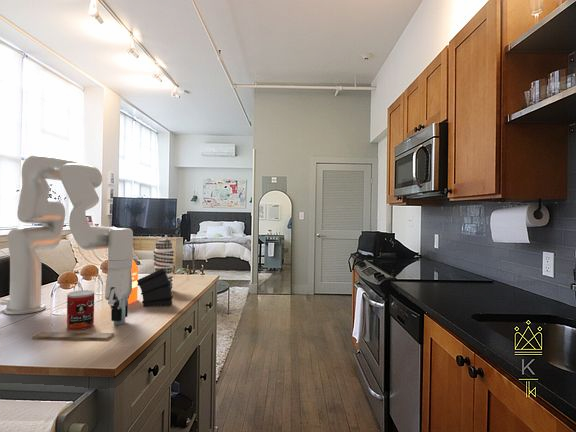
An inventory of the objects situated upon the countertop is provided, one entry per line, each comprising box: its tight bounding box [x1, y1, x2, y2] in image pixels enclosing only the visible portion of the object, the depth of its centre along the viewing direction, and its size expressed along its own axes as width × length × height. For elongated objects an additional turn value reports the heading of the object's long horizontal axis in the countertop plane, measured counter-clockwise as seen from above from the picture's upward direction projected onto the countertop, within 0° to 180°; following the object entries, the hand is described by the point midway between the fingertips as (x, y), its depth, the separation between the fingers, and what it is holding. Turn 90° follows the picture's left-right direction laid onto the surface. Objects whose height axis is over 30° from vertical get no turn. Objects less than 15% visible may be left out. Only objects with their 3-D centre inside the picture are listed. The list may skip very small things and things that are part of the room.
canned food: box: [66, 289, 95, 331], centre depth 117 cm, size 8×8×11 cm
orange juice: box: [128, 259, 139, 305], centre depth 150 cm, size 8×9×20 cm
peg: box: [113, 297, 126, 326], centre depth 121 cm, size 4×4×10 cm
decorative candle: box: [153, 238, 175, 293], centre depth 172 cm, size 9×9×25 cm
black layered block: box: [137, 268, 174, 308], centre depth 145 cm, size 4×13×15 cm, turn 100°
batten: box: [32, 331, 115, 341], centre depth 107 cm, size 22×4×1 cm, turn 90°
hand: (119, 318), depth 121 cm, fingers closed on peg, 3 cm apart
